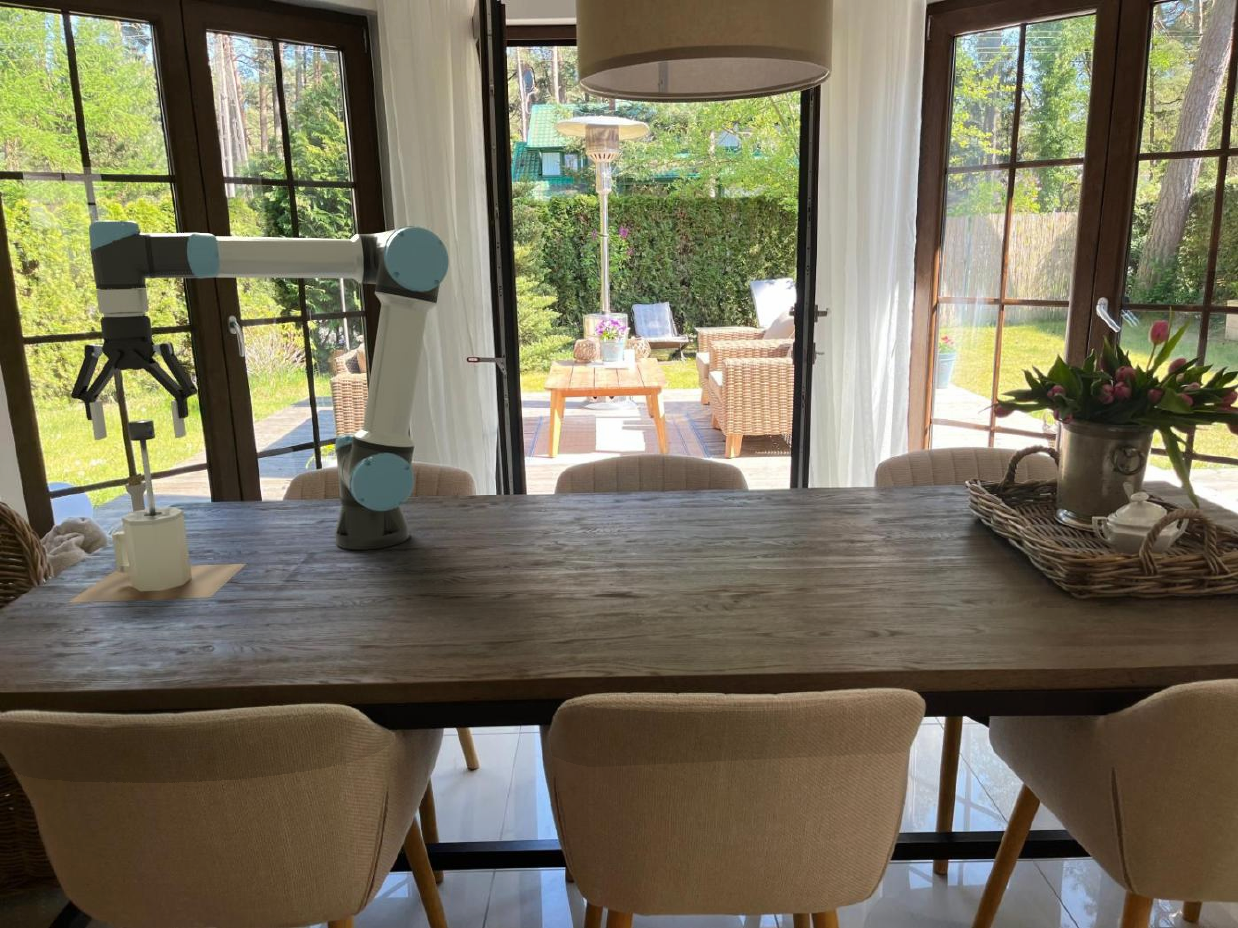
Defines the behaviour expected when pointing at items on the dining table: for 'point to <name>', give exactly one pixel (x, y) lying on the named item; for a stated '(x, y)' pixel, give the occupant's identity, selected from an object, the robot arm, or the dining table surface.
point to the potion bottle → (136, 492)
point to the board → (199, 586)
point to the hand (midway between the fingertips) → (140, 437)
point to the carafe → (153, 549)
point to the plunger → (144, 453)
